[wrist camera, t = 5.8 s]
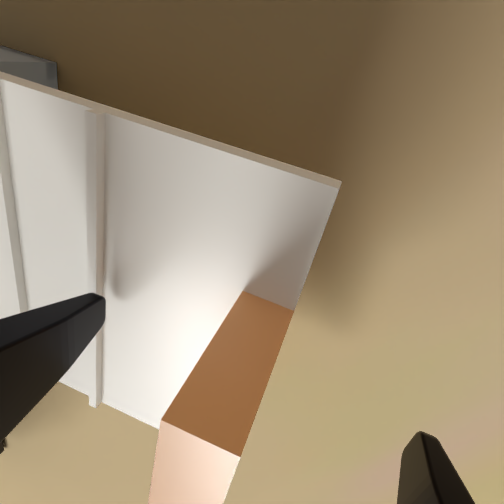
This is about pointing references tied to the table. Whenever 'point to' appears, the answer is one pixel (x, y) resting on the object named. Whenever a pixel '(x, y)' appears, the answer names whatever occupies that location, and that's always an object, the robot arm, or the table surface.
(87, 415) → the table surface
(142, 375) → the lid
